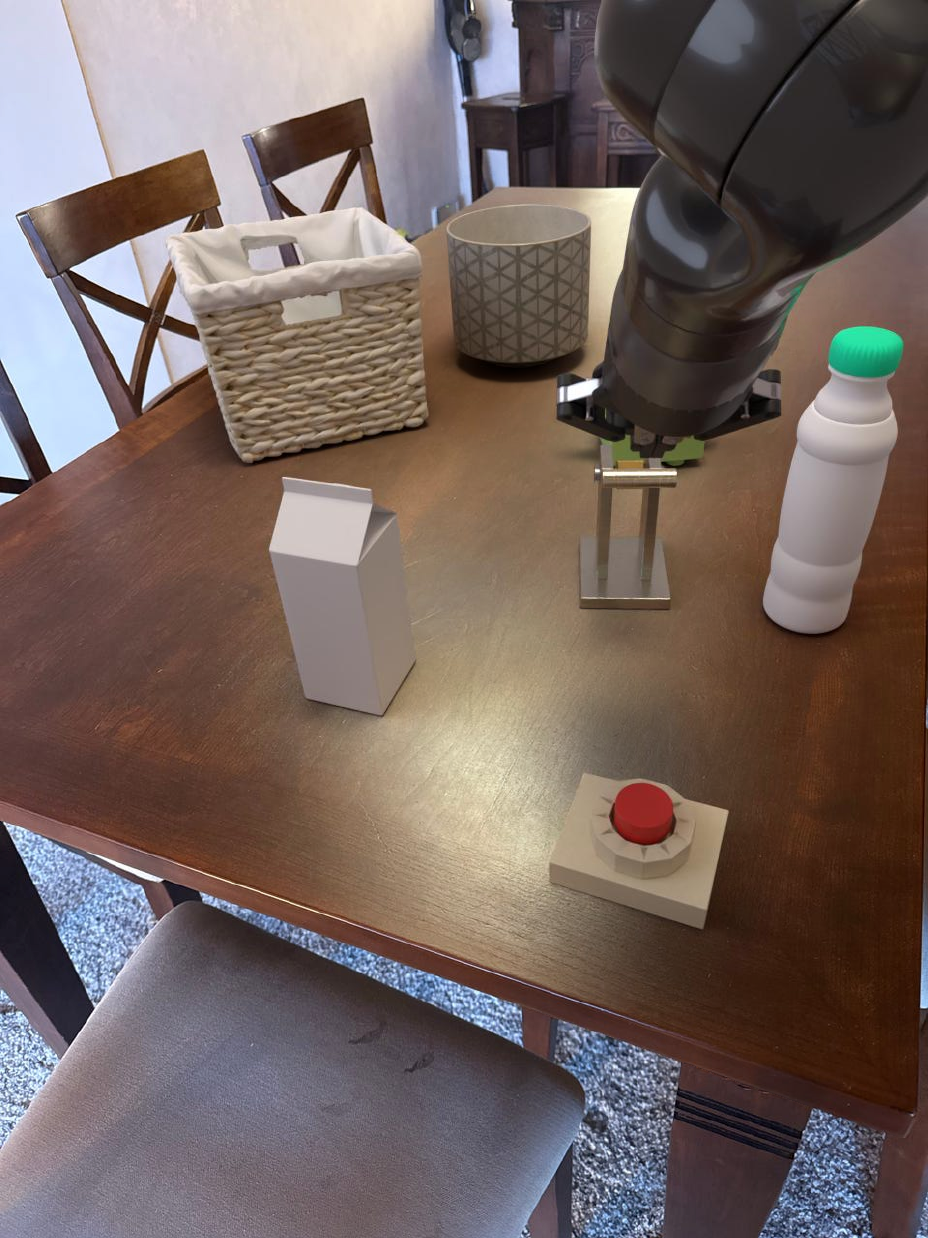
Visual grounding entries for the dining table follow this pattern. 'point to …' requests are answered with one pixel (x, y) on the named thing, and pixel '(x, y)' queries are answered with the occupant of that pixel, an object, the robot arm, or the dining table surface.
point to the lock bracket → (624, 554)
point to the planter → (520, 282)
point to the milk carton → (343, 593)
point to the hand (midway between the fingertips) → (650, 443)
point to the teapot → (675, 457)
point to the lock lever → (637, 476)
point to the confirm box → (640, 854)
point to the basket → (307, 329)
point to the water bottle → (834, 484)
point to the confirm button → (643, 813)
